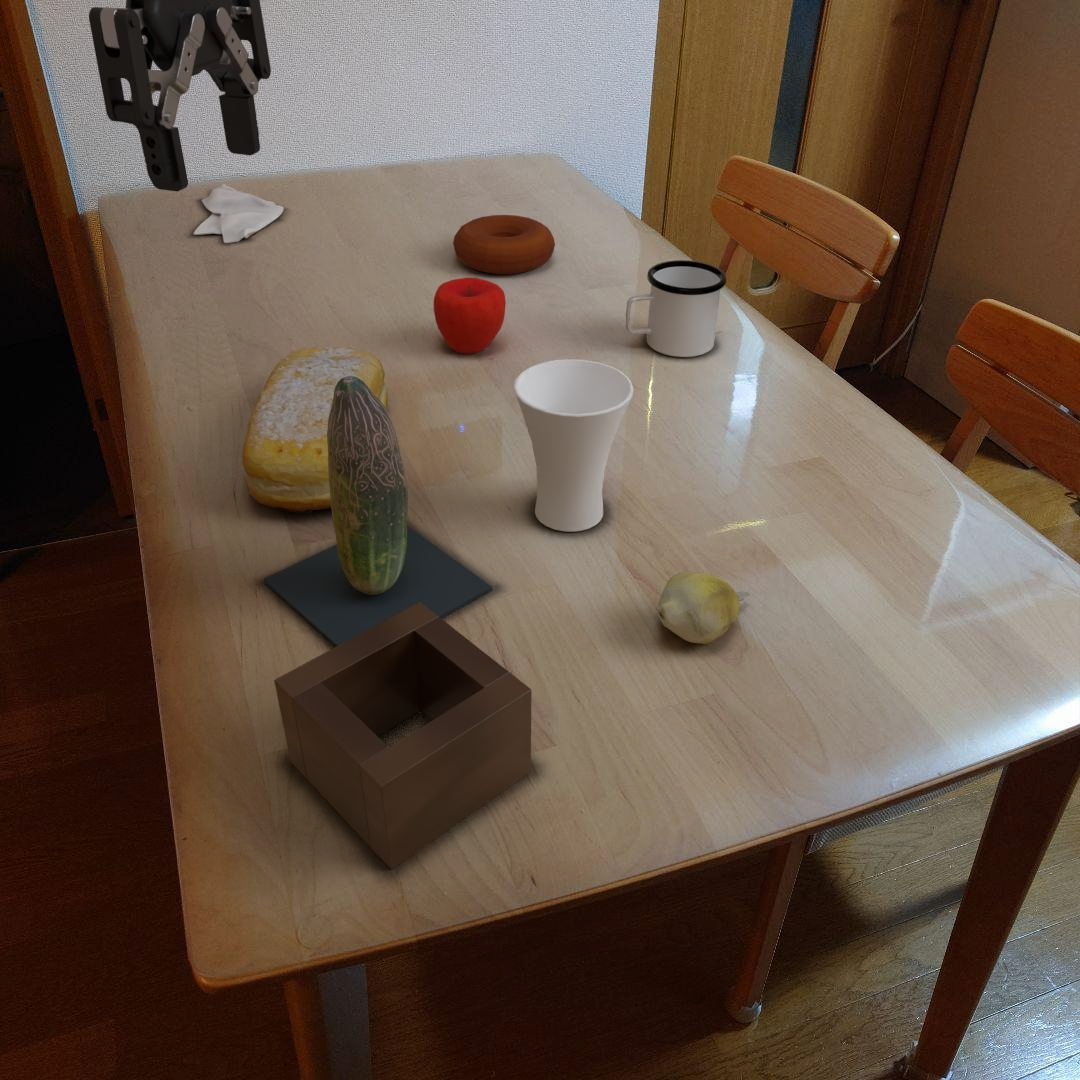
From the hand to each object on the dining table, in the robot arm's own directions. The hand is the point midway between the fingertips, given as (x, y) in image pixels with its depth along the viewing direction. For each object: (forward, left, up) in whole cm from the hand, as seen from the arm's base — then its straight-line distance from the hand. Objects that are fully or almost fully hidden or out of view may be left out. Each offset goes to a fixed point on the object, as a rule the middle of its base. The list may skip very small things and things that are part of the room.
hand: (209, 170), depth 67 cm
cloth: (+45, +87, -35) cm, 104 cm away
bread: (+14, +16, -35) cm, 41 cm away
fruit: (+23, -28, -35) cm, 50 cm away
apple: (+42, +25, -35) cm, 60 cm away
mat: (+6, -6, -35) cm, 36 cm away
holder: (-4, -24, -35) cm, 43 cm away
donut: (+64, +44, -35) cm, 85 cm away
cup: (+26, -9, -35) cm, 44 cm away
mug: (+61, +9, -35) cm, 71 cm away
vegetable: (+6, -6, -35) cm, 36 cm away
